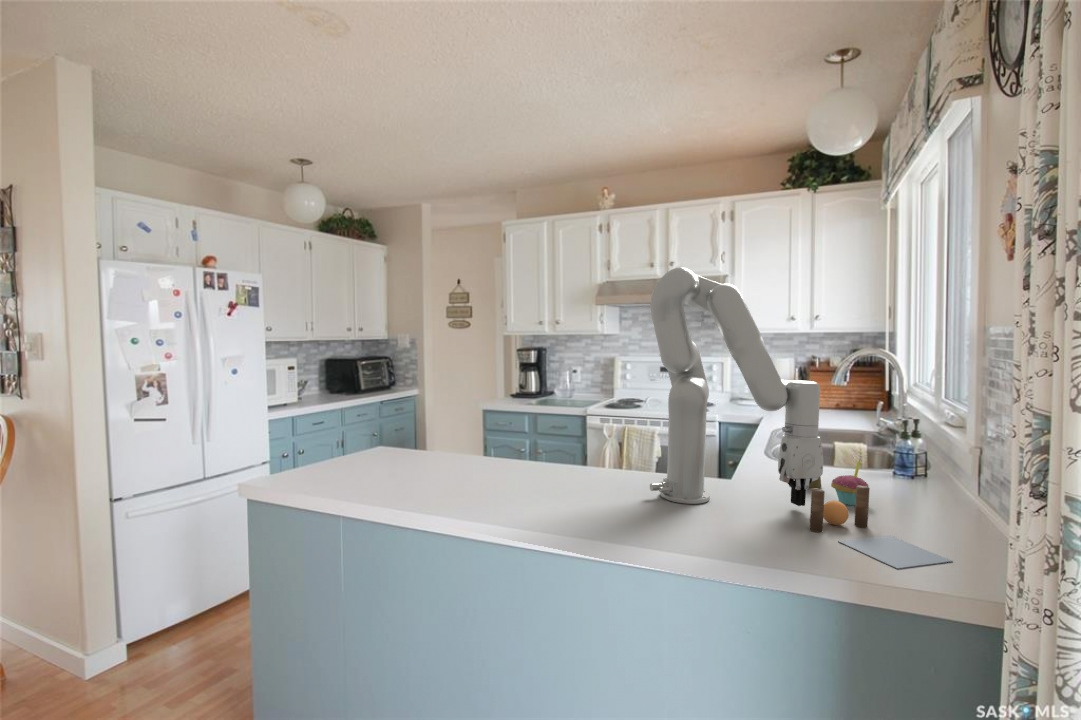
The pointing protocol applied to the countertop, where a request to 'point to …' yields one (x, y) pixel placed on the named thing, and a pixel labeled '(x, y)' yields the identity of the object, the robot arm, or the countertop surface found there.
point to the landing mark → (895, 552)
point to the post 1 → (817, 510)
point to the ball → (835, 512)
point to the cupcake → (848, 486)
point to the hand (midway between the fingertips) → (797, 504)
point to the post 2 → (862, 506)
